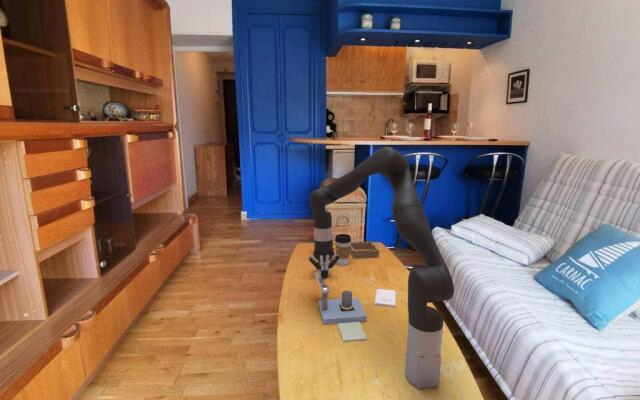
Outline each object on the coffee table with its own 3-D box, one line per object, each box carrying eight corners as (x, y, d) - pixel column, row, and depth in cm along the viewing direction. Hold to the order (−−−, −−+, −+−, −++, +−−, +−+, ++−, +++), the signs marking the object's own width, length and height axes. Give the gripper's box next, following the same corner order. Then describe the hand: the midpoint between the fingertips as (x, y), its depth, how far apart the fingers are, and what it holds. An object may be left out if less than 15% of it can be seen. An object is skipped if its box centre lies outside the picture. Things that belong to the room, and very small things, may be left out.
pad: (366, 339, 117) (366, 338, 117) (343, 341, 116) (343, 340, 116) (359, 323, 127) (359, 321, 127) (337, 324, 126) (337, 323, 126)
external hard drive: (395, 294, 150) (395, 308, 138) (376, 292, 152) (374, 306, 140) (395, 290, 149) (395, 304, 138) (376, 288, 151) (374, 302, 139)
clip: (321, 275, 145) (321, 271, 144) (330, 293, 130) (330, 289, 129) (312, 276, 144) (312, 272, 144) (321, 294, 129) (321, 290, 129)
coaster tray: (378, 257, 188) (379, 250, 188) (353, 258, 187) (353, 251, 186) (371, 248, 202) (371, 241, 201) (347, 249, 200) (348, 242, 199)
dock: (366, 321, 128) (367, 299, 126) (323, 324, 126) (323, 302, 124) (357, 302, 142) (357, 282, 140) (318, 304, 140) (318, 284, 138)
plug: (353, 315, 132) (354, 295, 131) (341, 315, 132) (342, 296, 130) (351, 308, 137) (351, 289, 135) (339, 309, 136) (339, 290, 134)
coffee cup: (332, 265, 178) (332, 237, 175) (336, 259, 186) (337, 232, 183) (348, 267, 176) (349, 238, 172) (352, 261, 184) (352, 233, 180)
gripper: (338, 233, 143) (338, 272, 147) (306, 235, 142) (307, 275, 146) (341, 239, 136) (342, 280, 140) (307, 241, 135) (309, 283, 138)
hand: (324, 277), depth 143 cm, fingers closed
